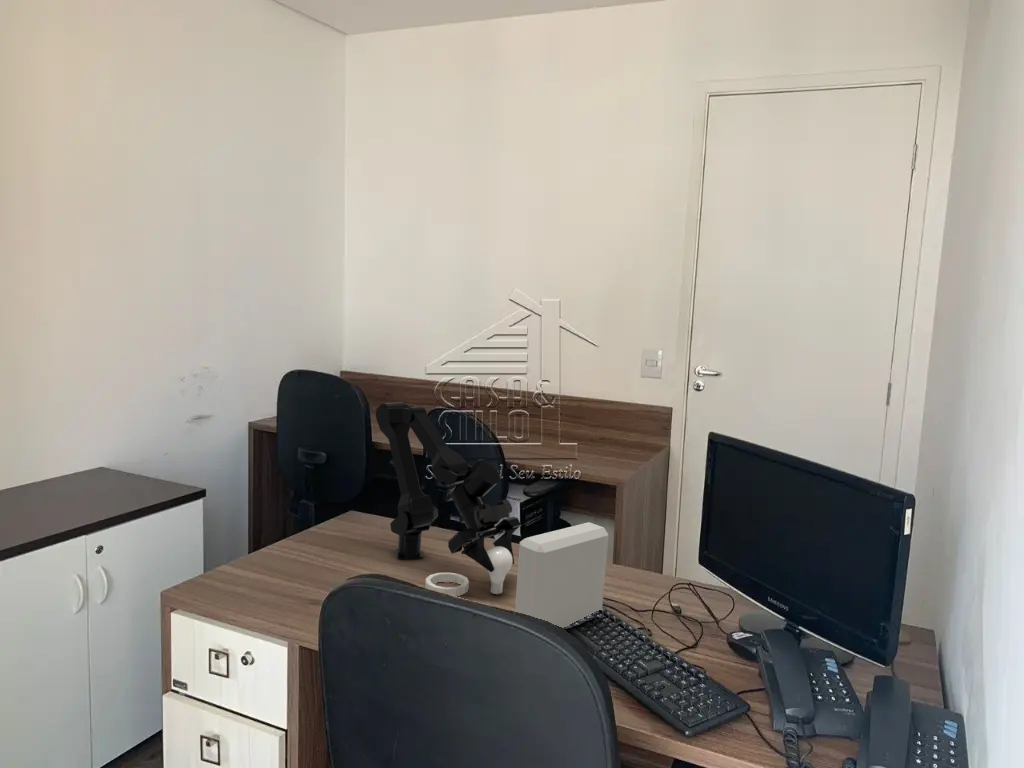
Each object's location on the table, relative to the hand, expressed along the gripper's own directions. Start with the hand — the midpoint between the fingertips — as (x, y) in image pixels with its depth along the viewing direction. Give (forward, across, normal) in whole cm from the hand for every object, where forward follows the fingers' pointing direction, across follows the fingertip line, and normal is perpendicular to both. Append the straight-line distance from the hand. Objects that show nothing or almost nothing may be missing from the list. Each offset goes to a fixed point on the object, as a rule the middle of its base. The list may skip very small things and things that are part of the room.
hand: (502, 567), depth 167 cm
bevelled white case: (+17, -2, -7) cm, 19 cm away
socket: (-3, -7, +12) cm, 14 cm away
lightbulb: (+4, 0, +6) cm, 7 cm away
